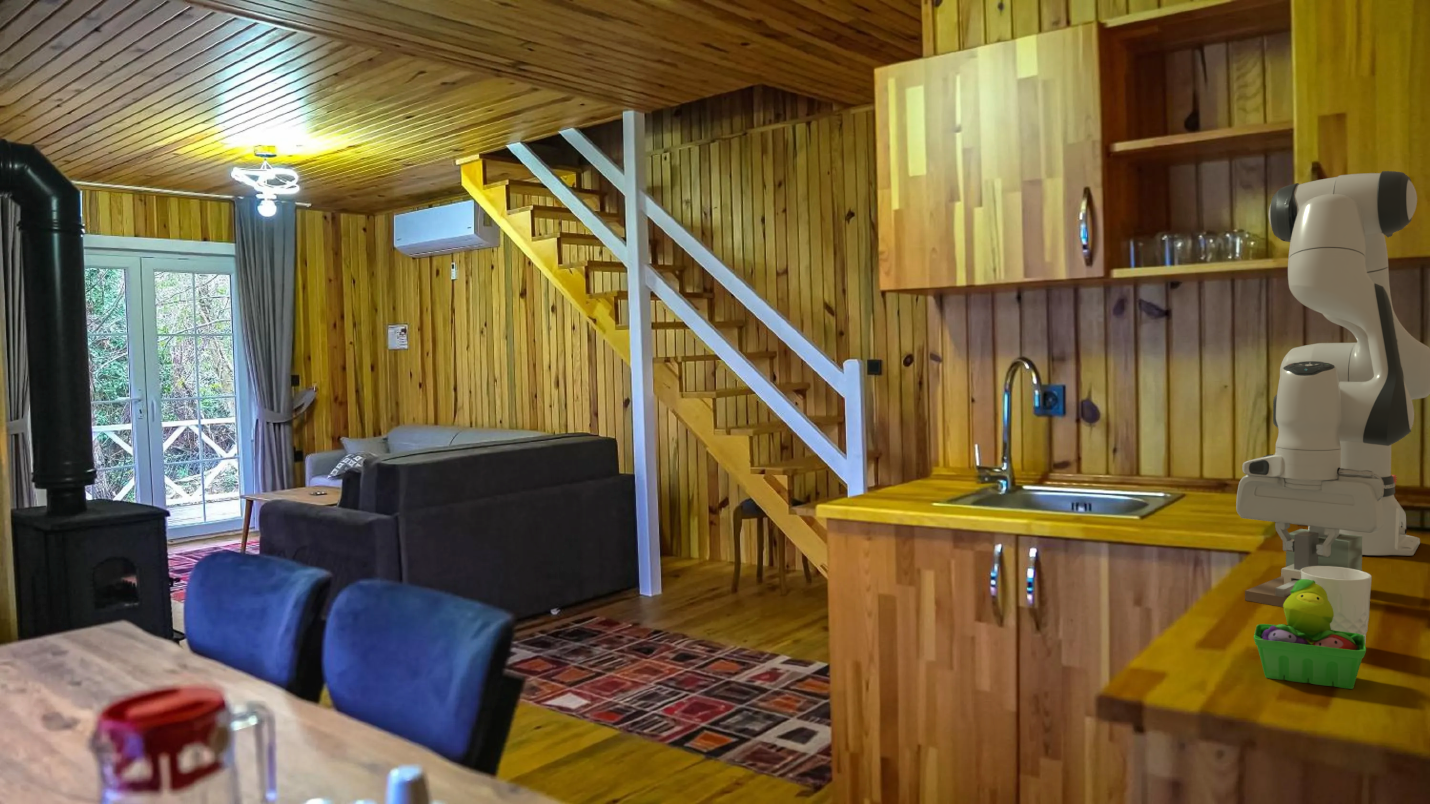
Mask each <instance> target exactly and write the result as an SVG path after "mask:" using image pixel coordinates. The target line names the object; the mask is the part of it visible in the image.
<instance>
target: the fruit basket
mask: <svg viewBox="0 0 1430 804" xmlns="http://www.w3.org/2000/svg"><path fill="white" fill-rule="evenodd" d="M1290 592H1291V595H1290V596H1289V597H1288V598H1287V599H1286V600H1285V602H1284V604H1283V612H1284V616H1285V619H1286V624H1285V623H1282V624H1281V623H1279V624H1270V623H1259V624H1256V626H1255V629H1254V633H1253V634H1254V635H1253V640H1254V643H1255V645H1256V646H1257V651H1258V655H1259V657H1260V662H1261V665H1262V666H1261V667H1262V670H1263V673H1264V676H1265V678H1266V679H1273V680H1281V681H1283V680H1284V681H1288V682H1295V683H1303V684H1312V685H1317V686H1326V687H1336V688H1340V689H1348V690H1353V689H1354V687H1355V683H1356V680H1357V676H1358V673H1359V670H1360V667H1361V663H1362V660H1363V658H1365V655H1366V652H1367V647H1366V642H1365V636H1364V635H1361V634H1358V633H1350V632H1342V631H1335V630H1331V627H1330V623H1331V622H1332V620H1333V617H1334V612H1333V608H1332V606H1331V604H1330V602H1329V601H1328V596H1327V593H1326V591H1325V590H1324V589H1323V588H1322V587H1321V586H1320V585H1318V584H1316V583H1315V581H1314V580H1309V579H1300V580H1298V581H1297V582H1296V583H1295V584H1294V587H1293V589H1292V590H1291V591H1290Z"/></svg>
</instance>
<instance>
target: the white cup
mask: <svg viewBox="0 0 1430 804" xmlns="http://www.w3.org/2000/svg"><path fill="white" fill-rule="evenodd" d="M1301 579H1309V580H1314V581H1315V583H1316V584H1318V585H1320V586H1321V587H1322V588H1323V589H1324V590H1325V591H1326V593H1327V596H1328V601H1329V602H1330V604H1331V606H1332V608H1333V612H1334V617H1333V620H1332V622H1331V623H1330V627H1331V630H1335V631H1342V632H1350V633H1358V634H1361V635H1364V636H1365V643H1366V640H1367V637H1366V636H1367V632H1368V629H1369V627H1368V625H1369V620H1370V606H1371V605H1370V604H1371V603H1370V602H1371V592H1372V591H1371V589H1372V575H1371V574H1370V573H1369V572H1366V571H1363V570H1362V571H1360V570H1355V569H1350V568H1343V567H1332V566H1311V567H1305V568H1302V569H1301Z"/></svg>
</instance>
